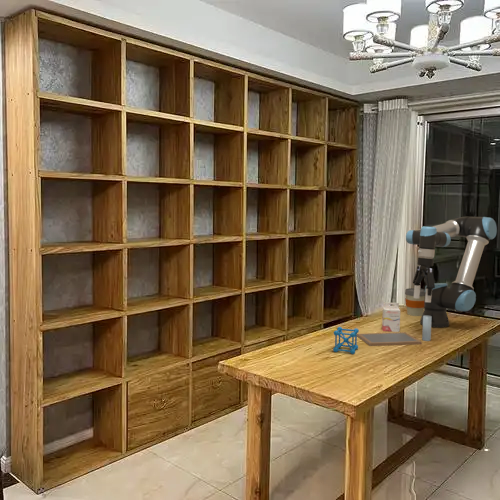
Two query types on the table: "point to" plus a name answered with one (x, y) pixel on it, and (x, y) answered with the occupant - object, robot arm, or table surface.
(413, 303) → the reusable coffee cup
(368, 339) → the slate board
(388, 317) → the ink cartridge box
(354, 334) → the molecular structure
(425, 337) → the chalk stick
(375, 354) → the table surface
